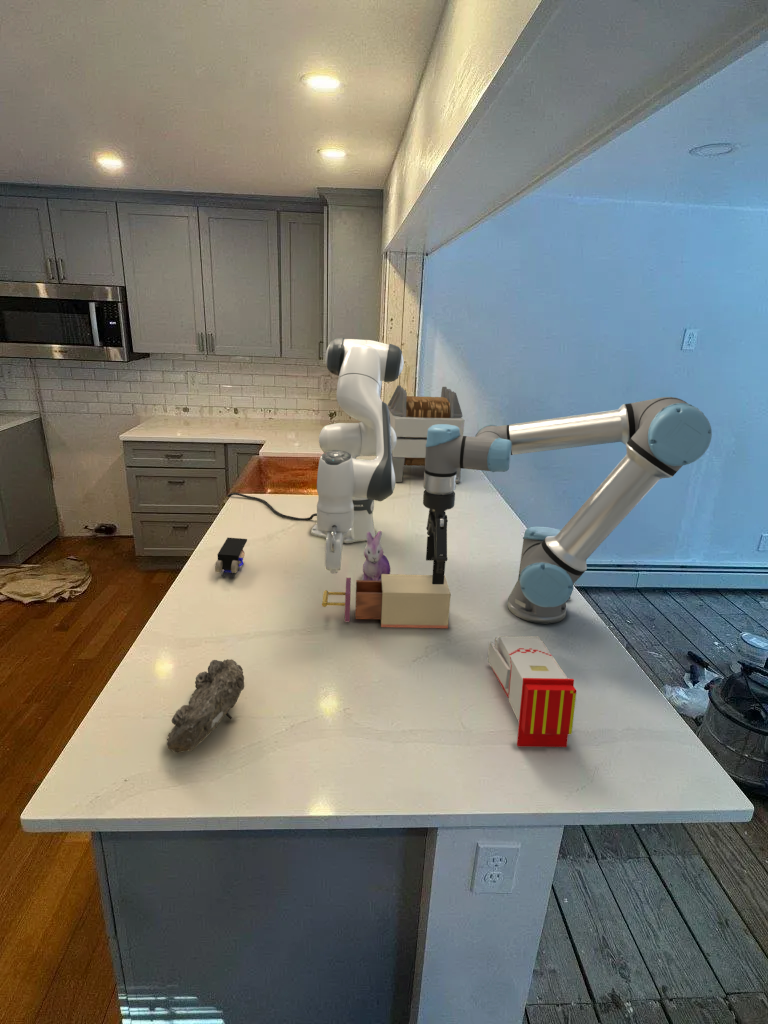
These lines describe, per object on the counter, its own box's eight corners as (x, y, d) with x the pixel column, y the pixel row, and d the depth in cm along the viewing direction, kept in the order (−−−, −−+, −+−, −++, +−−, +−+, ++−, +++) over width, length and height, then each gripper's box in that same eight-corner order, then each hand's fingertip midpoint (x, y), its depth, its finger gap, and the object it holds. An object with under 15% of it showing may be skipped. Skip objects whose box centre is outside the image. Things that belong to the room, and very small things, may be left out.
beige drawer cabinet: (380, 627, 141) (382, 592, 138) (379, 606, 151) (381, 573, 147) (447, 628, 142) (450, 593, 139) (442, 608, 151) (445, 575, 148)
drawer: (321, 621, 141) (321, 593, 138) (323, 603, 149) (323, 577, 146) (406, 622, 142) (408, 595, 139) (404, 605, 150) (405, 578, 147)
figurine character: (238, 584, 162) (249, 557, 175) (236, 562, 158) (247, 536, 172) (215, 584, 161) (227, 556, 175) (212, 561, 158) (225, 535, 171)
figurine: (368, 590, 159) (370, 541, 153) (353, 575, 167) (354, 528, 162) (398, 584, 163) (401, 536, 158) (382, 570, 171) (384, 524, 166)
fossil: (192, 660, 117) (244, 628, 112) (224, 691, 120) (276, 661, 115) (142, 746, 98) (202, 712, 93) (182, 779, 101) (242, 748, 96)
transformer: (382, 463, 289) (386, 382, 275) (445, 464, 293) (451, 384, 279) (390, 482, 257) (394, 392, 243) (460, 483, 261) (468, 394, 247)
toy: (536, 619, 129) (586, 686, 99) (531, 673, 131) (578, 754, 102) (483, 618, 128) (517, 685, 99) (479, 672, 131) (511, 753, 102)
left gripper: (347, 535, 127) (346, 590, 131) (349, 505, 146) (348, 554, 150) (318, 534, 126) (318, 590, 131) (324, 504, 145) (324, 554, 150)
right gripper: (464, 507, 123) (457, 594, 130) (447, 476, 147) (442, 551, 154) (429, 507, 123) (424, 594, 130) (418, 475, 146) (415, 551, 153)
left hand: (334, 571), depth 141 cm, fingers closed
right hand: (434, 571), depth 142 cm, fingers open, 13 cm apart
